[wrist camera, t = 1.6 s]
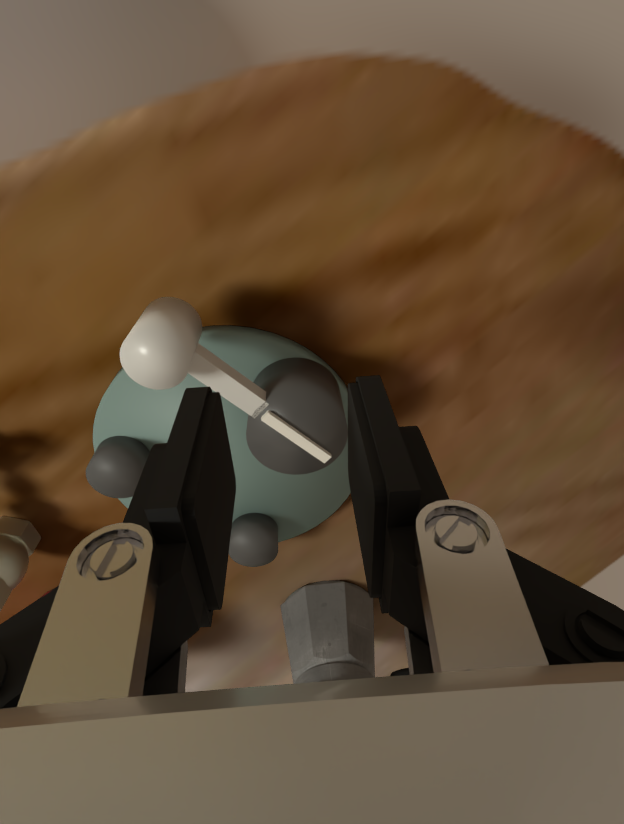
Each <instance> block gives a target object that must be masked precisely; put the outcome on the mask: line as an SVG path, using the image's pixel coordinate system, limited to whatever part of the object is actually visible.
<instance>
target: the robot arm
mask: <svg viewBox="0 0 624 824" xmlns="http://www.w3.org/2000/svg"><path fill="white" fill-rule="evenodd" d="M348 478H349V485H350V491H351V496H352V502H353V508H354V513H355V519H356V525H357V530H358V536H359V541H360V547H361V553H362V558H363V564H364V570H365V575H366V581H367V586H368V592H369V596H370V598H378V597H379V602H380V607H381V612H382V613H389V615H390V616H391V617H393V618H394V619H396V620H397V621H398V622H400V623H401V624H403V625H404V633H405V641H406V649H407V657H408V665H409V673H410V675H402V676H388V677H375V678H362V679H349V680H336V681H323V682H311V683H298V684H285V685H273V686H260V687H248V688H235V689H223V690H210V691H198V692H185V682H186V668H187V654H188V644H187V640H188V639H189V638H190V637H191V636H192V635H194V634H195V633H196V632H197V631H198V630H199V628H200V627H211V622H212V615H213V610H220V609H221V608H222V603H223V595H224V587H225V578H226V570H227V562H228V553H229V545H230V537H231V528H232V520H233V512H234V503H235V495H236V478H235V472H234V466H233V461H232V455H231V450H230V444H229V439H228V433H227V428H226V422H225V417H224V411H223V406H222V400H221V395H220V393H219V392H212V390H211V388H210V387H195V388H186V389H185V391H184V394H183V397H182V400H181V403H180V406H179V409H178V412H177V415H176V418H175V421H174V424H173V427H172V430H171V432H170V435H169V438H168V441H167V443H159V444H154V445H153V446H152V448H151V450H150V453H149V455H148V458H147V461H146V463H145V466H144V468H143V471H142V474H141V476H140V479H139V481H138V484H137V487H136V489H135V492H134V495H133V497H132V500H131V502H130V505H129V508H128V510H127V513H126V515H125V518H124V521H123V523H118V524H114V525H110V526H106V527H104V528H101V529H99V530H97V531H95V532H93V533H92V534H90V535H89V536H87V537H86V538H85V539H83V540H82V541H81V542H80V543H79V544H78V545H77V547H76V548H75V549H74V550H73V552H72V554H71V555H70V557H69V559H68V562H67V565H66V567H65V570H64V573H63V576H62V579H61V582H60V585H59V586H58V587H56V588H55V589H53V590H52V591H50V592H49V593H47V594H46V595H44V596H43V597H41V598H40V599H38V600H37V601H35V602H34V603H32V604H31V605H29V606H28V607H26V608H25V609H23V610H22V611H20V612H19V613H17V614H16V615H14V616H12V617H11V618H9V619H8V620H6V621H5V622H3V623H2V624H0V824H624V611H623V610H622V609H620V608H619V607H617V606H616V605H614V604H612V603H610V602H608V601H606V600H604V599H602V598H600V597H598V596H596V595H594V594H592V593H591V592H589V591H587V590H585V589H583V588H581V587H579V586H577V585H575V584H573V583H571V582H569V581H567V580H565V579H564V578H562V577H560V576H558V575H556V574H554V573H552V572H550V571H548V570H546V569H544V568H542V567H540V566H539V565H537V564H535V563H533V562H531V561H529V560H527V559H525V558H523V557H521V556H519V555H517V554H515V553H513V552H512V551H510V550H508V549H506V548H505V546H504V543H503V540H502V538H501V535H500V532H499V530H498V527H497V526H496V524H495V522H494V521H493V519H492V518H491V517H490V516H489V515H488V514H487V513H486V512H485V511H483V510H481V509H480V508H478V507H476V506H474V505H472V504H469V503H466V502H463V501H458V500H449V498H448V495H447V493H446V490H445V488H444V486H443V483H442V481H441V479H440V476H439V474H438V472H437V469H436V467H435V465H434V462H433V460H432V457H431V455H430V453H429V450H428V448H427V446H426V443H425V441H424V439H423V436H422V434H421V432H420V430H419V428H418V427H417V426H407V427H398V424H397V421H396V419H395V416H394V413H393V410H392V407H391V405H390V402H389V399H388V396H387V394H386V391H385V388H384V385H383V383H382V380H381V377H380V375H376V376H361V377H356V383H348Z"/></svg>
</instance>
